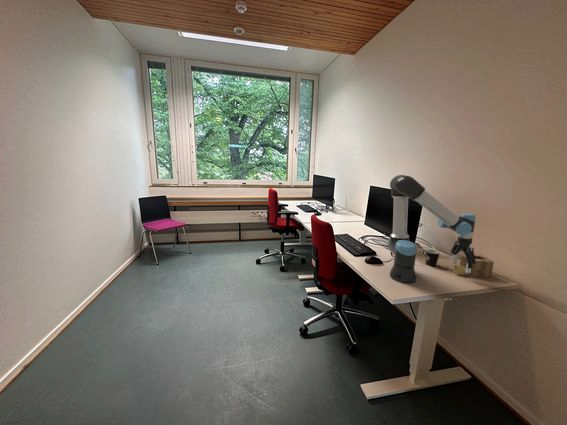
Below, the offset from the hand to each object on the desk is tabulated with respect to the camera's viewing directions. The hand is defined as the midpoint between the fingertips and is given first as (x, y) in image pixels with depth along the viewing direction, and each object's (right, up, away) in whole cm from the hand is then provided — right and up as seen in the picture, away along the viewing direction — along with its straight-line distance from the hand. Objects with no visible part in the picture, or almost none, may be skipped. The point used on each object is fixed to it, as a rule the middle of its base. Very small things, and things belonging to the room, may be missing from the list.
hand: (460, 268), depth 154 cm
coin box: (+12, -4, +3) cm, 13 cm away
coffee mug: (-9, -1, +17) cm, 20 cm away
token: (-1, -4, +1) cm, 5 cm away
